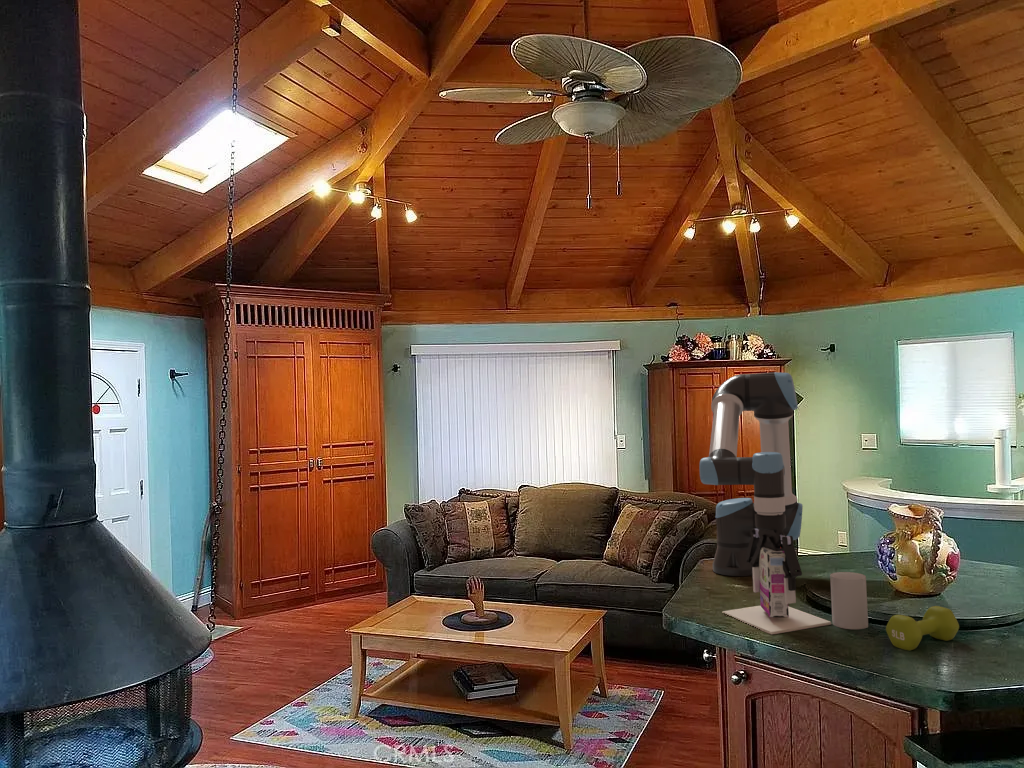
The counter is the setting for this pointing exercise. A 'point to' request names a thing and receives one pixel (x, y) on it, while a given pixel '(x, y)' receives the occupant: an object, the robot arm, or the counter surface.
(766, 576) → the candy bar box
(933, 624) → the dumbbell
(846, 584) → the cup
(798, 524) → the robot arm
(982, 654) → the counter surface
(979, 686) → the counter surface
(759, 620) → the mat
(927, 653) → the counter surface
